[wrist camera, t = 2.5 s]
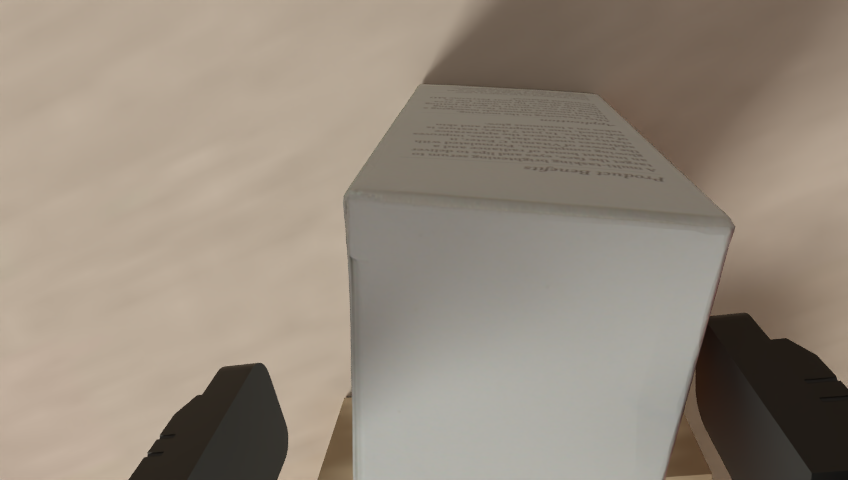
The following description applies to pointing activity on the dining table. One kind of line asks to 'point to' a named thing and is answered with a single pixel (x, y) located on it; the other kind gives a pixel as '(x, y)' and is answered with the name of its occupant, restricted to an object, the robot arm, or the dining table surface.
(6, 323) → the dining table surface
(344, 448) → the base block
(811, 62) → the dining table surface
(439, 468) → the small box
